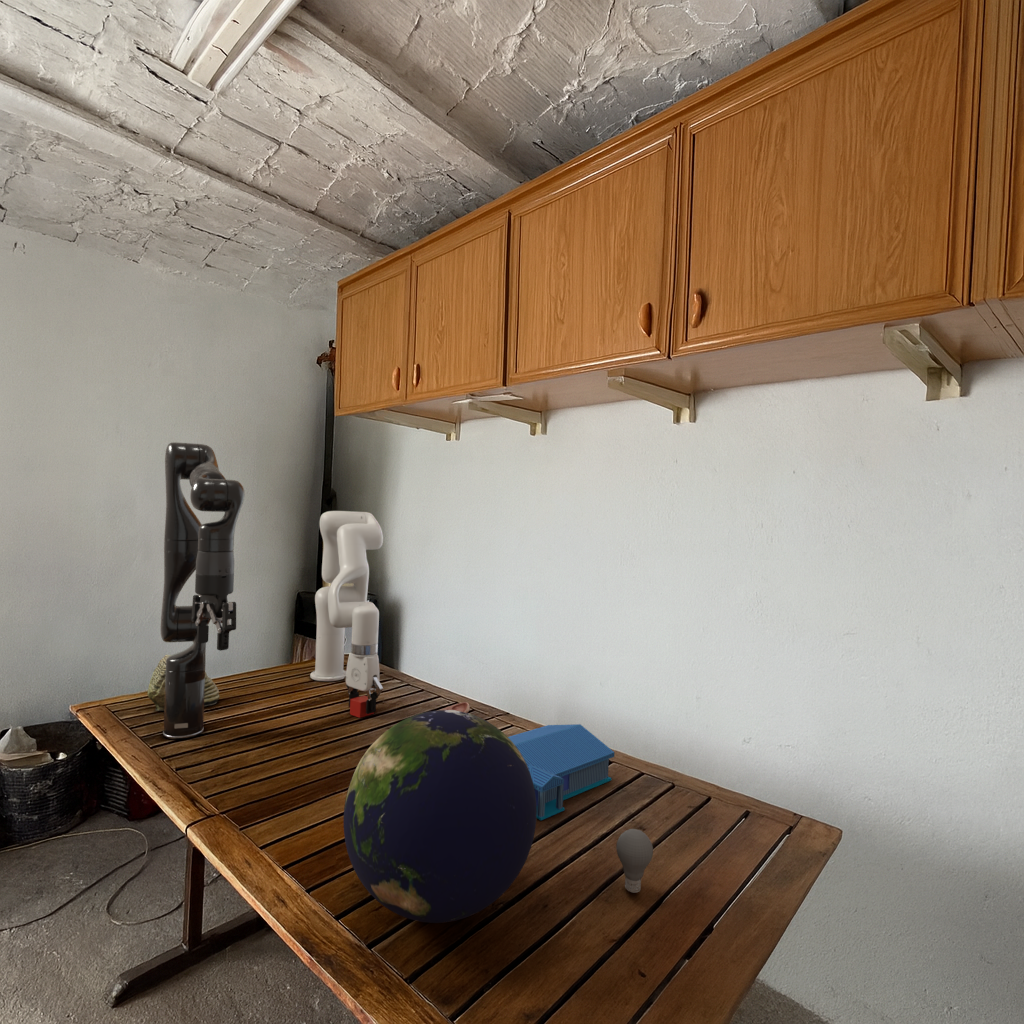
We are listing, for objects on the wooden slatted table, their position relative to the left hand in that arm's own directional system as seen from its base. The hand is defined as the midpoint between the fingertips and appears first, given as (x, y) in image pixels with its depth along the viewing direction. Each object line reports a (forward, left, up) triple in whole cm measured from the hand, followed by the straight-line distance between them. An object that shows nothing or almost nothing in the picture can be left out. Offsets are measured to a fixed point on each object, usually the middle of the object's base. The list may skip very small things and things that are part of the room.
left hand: (212, 646), depth 137 cm
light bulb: (+83, +41, -30) cm, 97 cm away
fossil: (-55, +11, -30) cm, 64 cm away
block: (-19, +49, -30) cm, 61 cm away
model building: (+45, +53, -30) cm, 75 cm away
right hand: (-19, +49, -29) cm, 60 cm away
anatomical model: (-1, +66, -30) cm, 72 cm away
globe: (+65, +14, -30) cm, 73 cm away
